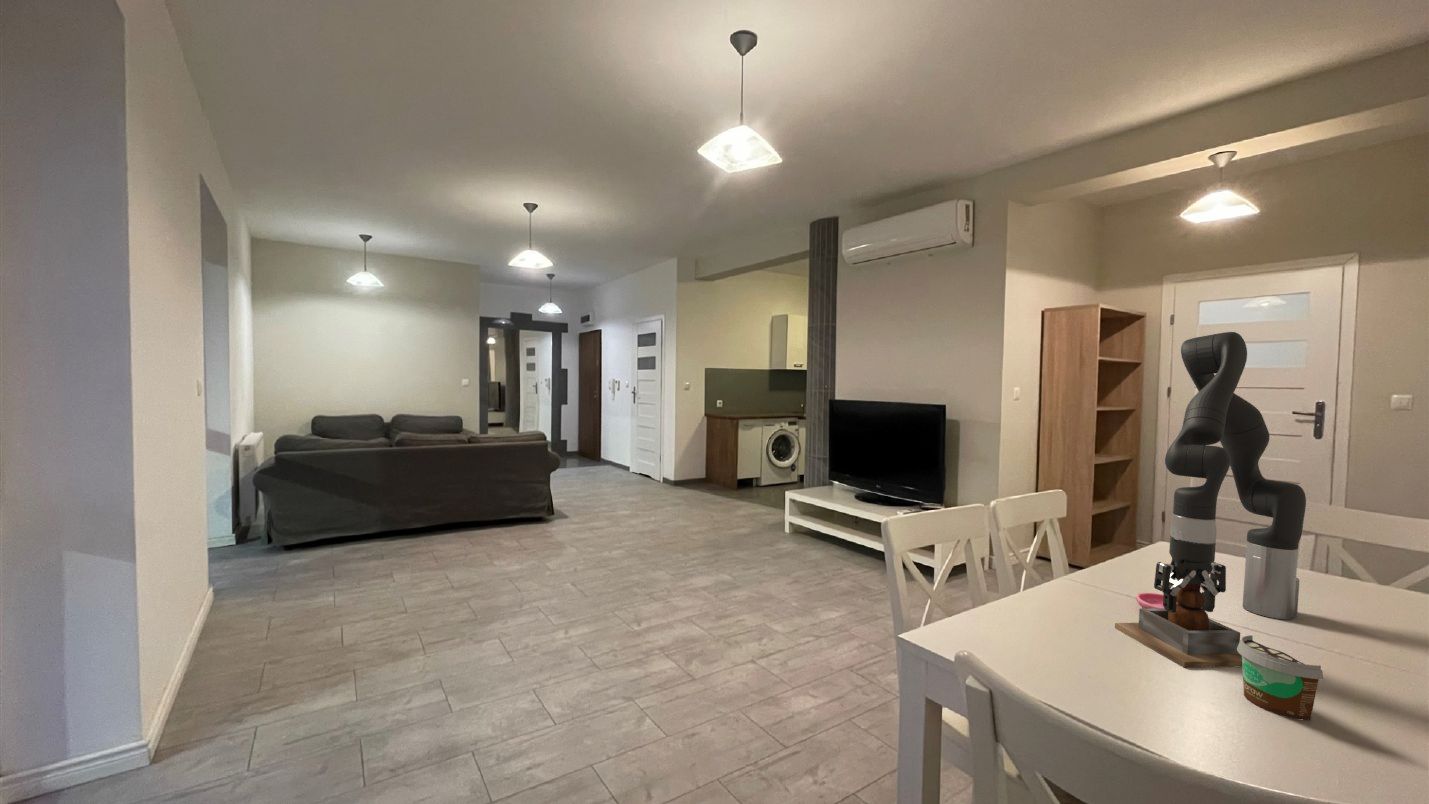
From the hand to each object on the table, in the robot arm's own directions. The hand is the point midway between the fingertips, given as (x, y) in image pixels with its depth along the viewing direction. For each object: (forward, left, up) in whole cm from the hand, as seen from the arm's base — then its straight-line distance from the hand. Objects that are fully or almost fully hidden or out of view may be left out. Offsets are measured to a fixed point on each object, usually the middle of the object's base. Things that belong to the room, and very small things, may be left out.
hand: (1188, 610), depth 123 cm
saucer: (-11, -17, -8) cm, 22 cm away
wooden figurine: (0, 0, -7) cm, 7 cm away
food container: (+6, +22, -8) cm, 24 cm away
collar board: (0, 0, -8) cm, 8 cm away
